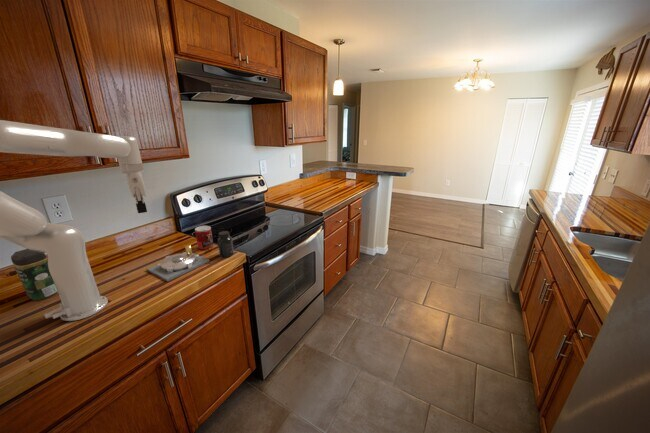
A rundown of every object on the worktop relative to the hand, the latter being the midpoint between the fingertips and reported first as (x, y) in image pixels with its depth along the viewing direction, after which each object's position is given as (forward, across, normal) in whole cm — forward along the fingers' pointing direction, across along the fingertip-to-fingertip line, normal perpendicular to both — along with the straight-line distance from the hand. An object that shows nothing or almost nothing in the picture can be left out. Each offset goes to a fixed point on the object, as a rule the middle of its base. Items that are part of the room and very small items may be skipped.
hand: (142, 212), depth 111 cm
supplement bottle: (+27, -5, -30) cm, 41 cm away
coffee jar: (+27, +3, +37) cm, 46 cm away
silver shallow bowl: (+26, -3, -9) cm, 28 cm away
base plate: (+27, -3, -9) cm, 29 cm away
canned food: (+27, +11, -24) cm, 38 cm away
